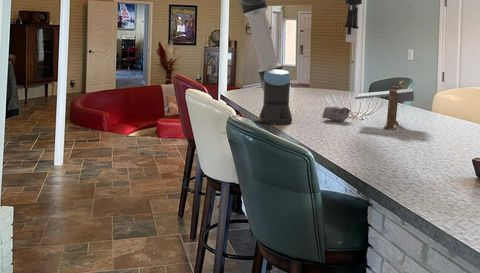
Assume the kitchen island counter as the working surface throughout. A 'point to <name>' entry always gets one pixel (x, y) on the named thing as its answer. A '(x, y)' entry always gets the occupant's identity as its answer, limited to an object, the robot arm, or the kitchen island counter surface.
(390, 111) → the frame
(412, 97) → the trapdoor
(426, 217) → the kitchen island counter surface
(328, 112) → the stone
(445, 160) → the kitchen island counter surface
